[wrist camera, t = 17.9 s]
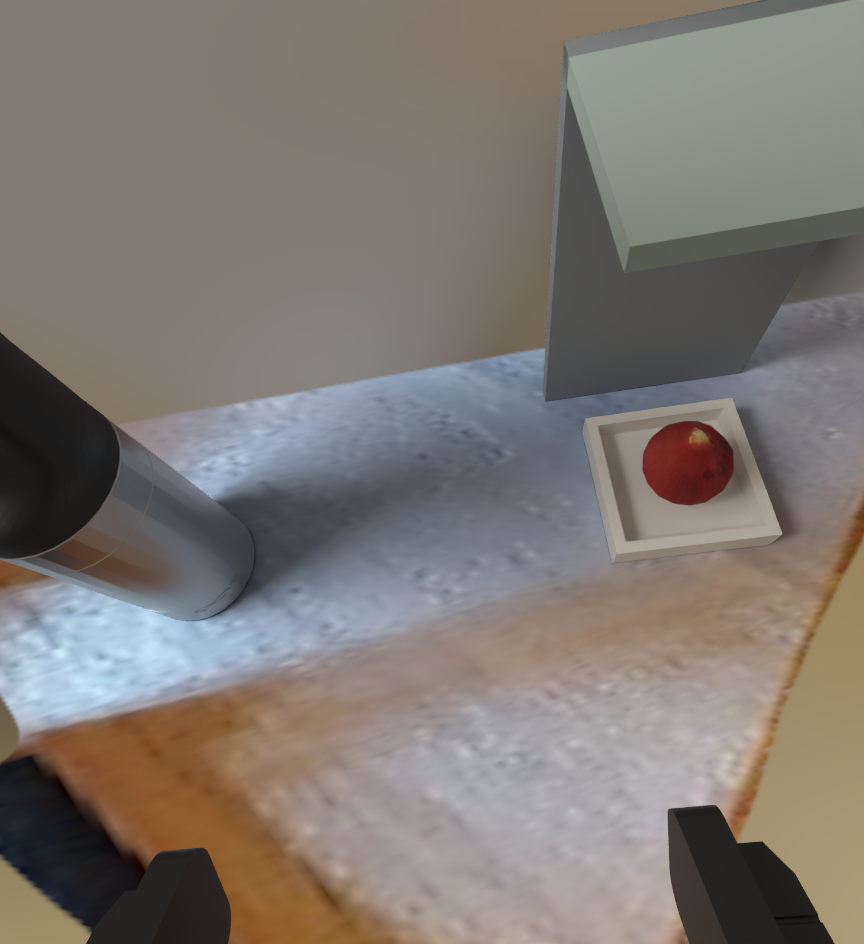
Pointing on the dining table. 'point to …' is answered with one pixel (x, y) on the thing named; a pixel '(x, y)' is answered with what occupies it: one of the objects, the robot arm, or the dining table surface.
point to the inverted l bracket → (697, 186)
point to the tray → (660, 521)
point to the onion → (688, 463)
